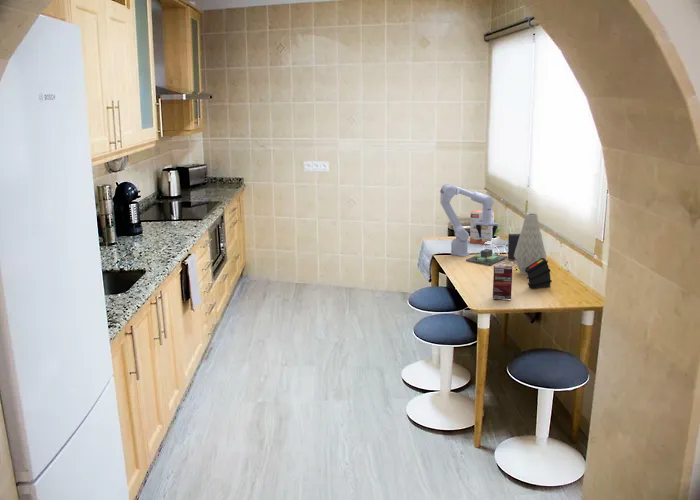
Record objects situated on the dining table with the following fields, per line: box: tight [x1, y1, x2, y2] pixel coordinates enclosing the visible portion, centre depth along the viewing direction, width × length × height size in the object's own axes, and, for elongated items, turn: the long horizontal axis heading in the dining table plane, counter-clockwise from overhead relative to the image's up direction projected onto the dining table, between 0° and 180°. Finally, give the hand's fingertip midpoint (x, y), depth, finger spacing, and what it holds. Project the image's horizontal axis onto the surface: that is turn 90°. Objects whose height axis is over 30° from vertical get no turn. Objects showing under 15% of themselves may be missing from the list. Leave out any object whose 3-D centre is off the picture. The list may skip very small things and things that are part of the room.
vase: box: [514, 212, 547, 277], centre depth 330 cm, size 17×17×33 cm
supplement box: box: [492, 265, 513, 300], centre depth 296 cm, size 9×5×16 cm, turn 80°
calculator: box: [507, 233, 520, 261], centre depth 359 cm, size 11×4×15 cm, turn 84°
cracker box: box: [469, 209, 495, 245], centre depth 396 cm, size 14×6×21 cm, turn 62°
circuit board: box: [476, 248, 498, 262], centre depth 361 cm, size 12×15×5 cm
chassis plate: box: [465, 252, 508, 267], centre depth 362 cm, size 16×20×4 cm
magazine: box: [525, 258, 552, 290], centre depth 310 cm, size 4×13×15 cm, turn 105°
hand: (486, 237), depth 374 cm, fingers open, 7 cm apart
